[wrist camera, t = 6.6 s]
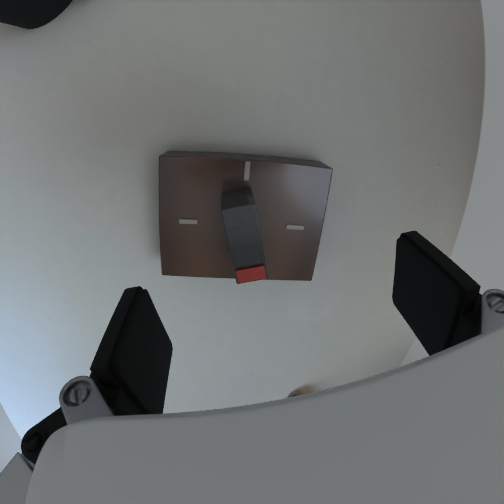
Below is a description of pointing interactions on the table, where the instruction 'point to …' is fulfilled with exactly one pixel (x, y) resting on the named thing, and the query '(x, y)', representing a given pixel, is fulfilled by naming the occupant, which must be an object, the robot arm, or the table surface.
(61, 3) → the mug
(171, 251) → the panel
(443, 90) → the table surface
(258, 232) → the rotary selector knob
